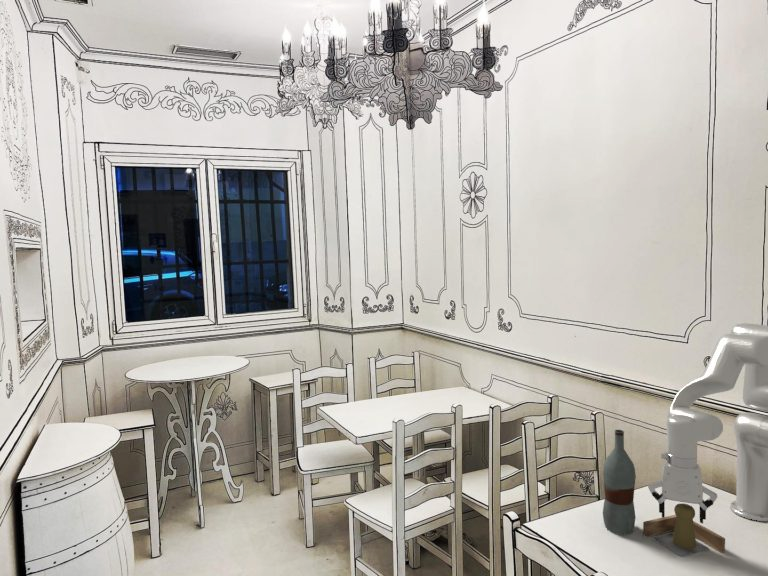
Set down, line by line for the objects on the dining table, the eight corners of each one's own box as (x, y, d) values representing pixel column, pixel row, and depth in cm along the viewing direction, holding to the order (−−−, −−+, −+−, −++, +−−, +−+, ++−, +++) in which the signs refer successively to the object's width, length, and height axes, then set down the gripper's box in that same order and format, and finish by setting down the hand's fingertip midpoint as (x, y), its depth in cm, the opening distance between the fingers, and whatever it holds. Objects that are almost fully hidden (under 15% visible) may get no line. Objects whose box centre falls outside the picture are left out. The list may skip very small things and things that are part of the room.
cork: (692, 538, 163) (693, 501, 162) (699, 549, 157) (699, 511, 156) (669, 536, 164) (670, 500, 163) (675, 547, 158) (676, 509, 157)
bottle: (598, 520, 176) (598, 425, 173) (629, 520, 175) (629, 425, 173) (608, 535, 166) (608, 436, 164) (640, 536, 165) (640, 436, 163)
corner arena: (679, 526, 170) (679, 513, 170) (724, 552, 156) (725, 538, 155) (643, 534, 166) (643, 521, 166) (686, 562, 151) (686, 547, 151)
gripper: (647, 460, 159) (648, 518, 161) (718, 469, 152) (718, 530, 153) (648, 451, 166) (648, 507, 167) (716, 459, 158) (716, 517, 160)
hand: (682, 518), depth 160 cm, fingers open, 9 cm apart
